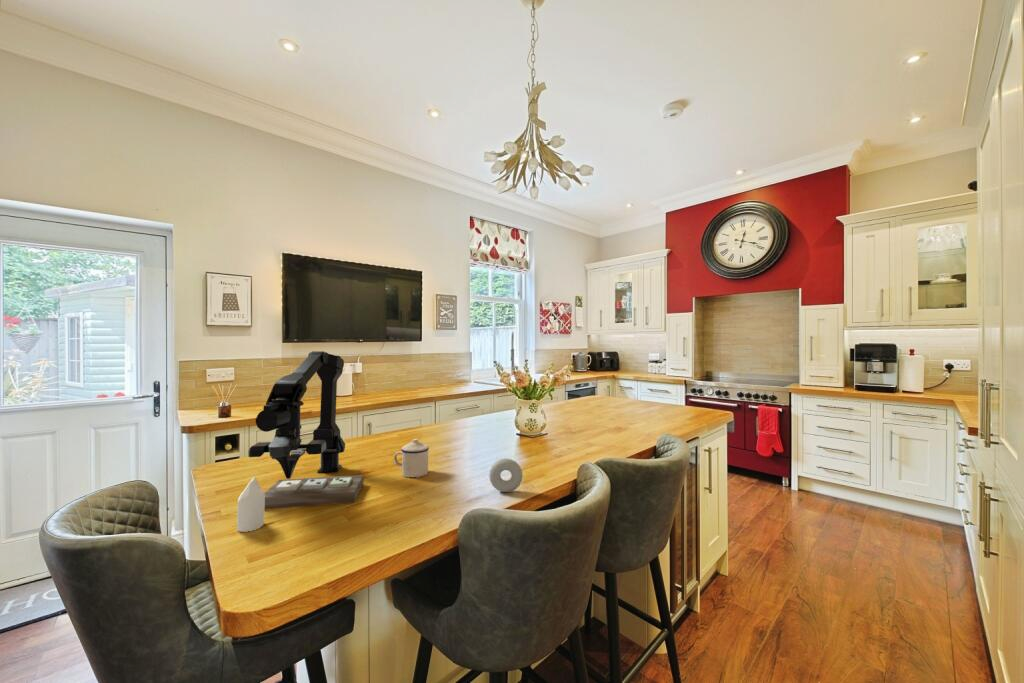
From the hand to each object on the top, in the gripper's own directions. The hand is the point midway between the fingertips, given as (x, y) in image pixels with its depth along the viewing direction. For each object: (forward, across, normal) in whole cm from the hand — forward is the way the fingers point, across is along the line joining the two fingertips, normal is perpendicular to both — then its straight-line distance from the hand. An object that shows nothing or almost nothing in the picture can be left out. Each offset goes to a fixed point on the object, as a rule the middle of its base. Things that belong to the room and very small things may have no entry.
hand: (288, 478), depth 113 cm
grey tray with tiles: (+6, +7, 0) cm, 9 cm away
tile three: (+5, +14, 0) cm, 15 cm away
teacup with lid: (+6, +33, +15) cm, 37 cm away
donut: (+6, +62, -7) cm, 63 cm away
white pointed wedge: (+6, -2, -17) cm, 18 cm away
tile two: (+4, +7, 0) cm, 8 cm away
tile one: (+5, 0, 0) cm, 5 cm away
